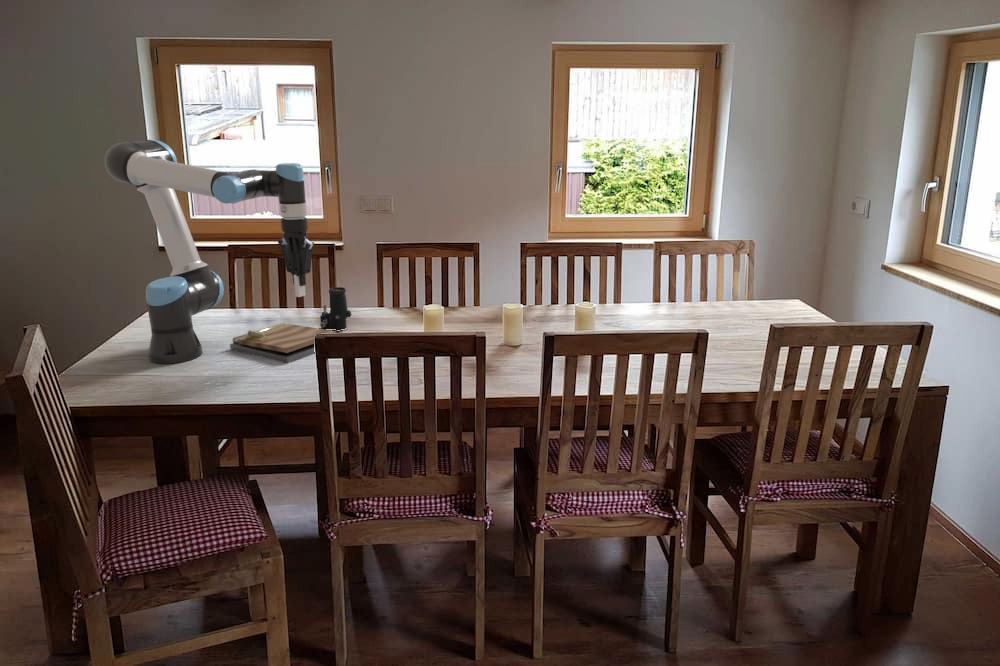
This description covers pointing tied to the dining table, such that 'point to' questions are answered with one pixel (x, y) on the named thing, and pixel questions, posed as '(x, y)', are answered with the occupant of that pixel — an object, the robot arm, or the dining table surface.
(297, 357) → the stand
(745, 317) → the dining table surface
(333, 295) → the scope
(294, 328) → the board
